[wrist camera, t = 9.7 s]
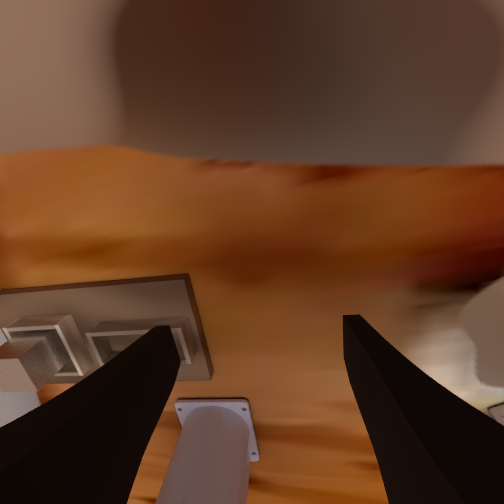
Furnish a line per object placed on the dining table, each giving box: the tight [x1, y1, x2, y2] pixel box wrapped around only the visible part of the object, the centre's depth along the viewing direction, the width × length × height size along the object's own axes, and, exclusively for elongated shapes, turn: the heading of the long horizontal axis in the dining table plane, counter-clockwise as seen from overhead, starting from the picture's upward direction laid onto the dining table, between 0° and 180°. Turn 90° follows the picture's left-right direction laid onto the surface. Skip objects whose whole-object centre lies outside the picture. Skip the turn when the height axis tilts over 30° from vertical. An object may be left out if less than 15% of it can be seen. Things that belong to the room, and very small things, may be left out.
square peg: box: [0, 329, 71, 392], centre depth 23 cm, size 4×4×4 cm
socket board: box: [0, 274, 213, 384], centre depth 24 cm, size 11×20×2 cm, turn 98°
